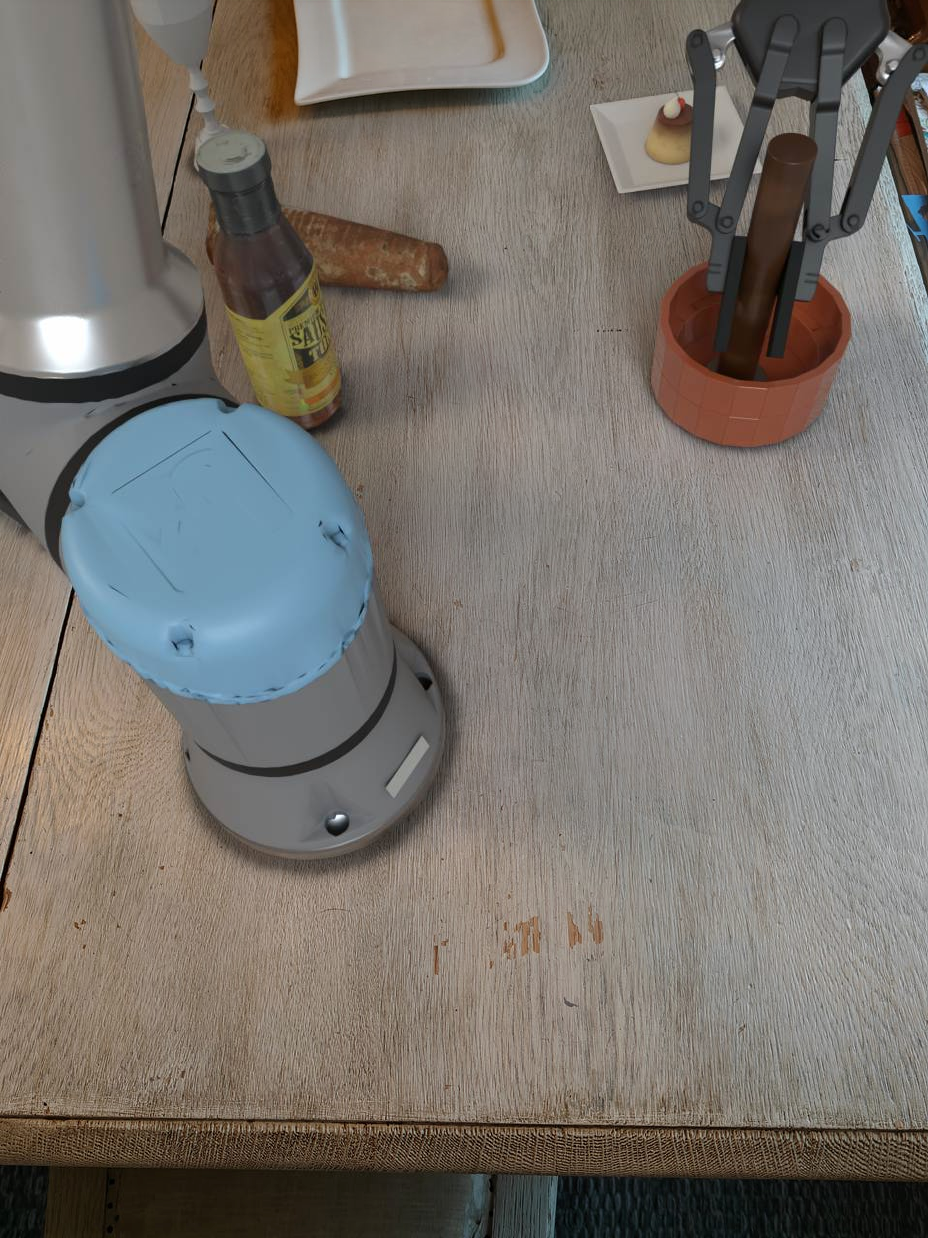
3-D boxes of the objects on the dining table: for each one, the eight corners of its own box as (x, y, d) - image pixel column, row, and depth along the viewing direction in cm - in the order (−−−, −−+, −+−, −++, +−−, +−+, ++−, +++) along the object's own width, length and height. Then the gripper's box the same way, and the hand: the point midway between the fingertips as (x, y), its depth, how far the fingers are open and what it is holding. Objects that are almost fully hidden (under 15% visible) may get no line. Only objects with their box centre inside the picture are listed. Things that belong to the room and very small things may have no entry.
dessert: (722, 96, 84) (732, 42, 80) (761, 183, 78) (774, 129, 74) (588, 116, 84) (591, 62, 80) (617, 205, 78) (621, 151, 74)
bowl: (623, 419, 67) (631, 352, 62) (686, 306, 72) (699, 234, 67) (792, 477, 64) (817, 412, 58) (847, 354, 69) (874, 283, 63)
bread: (239, 235, 80) (220, 175, 75) (458, 268, 76) (453, 207, 71) (209, 287, 77) (187, 228, 72) (435, 324, 73) (428, 265, 68)
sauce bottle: (333, 439, 68) (264, 197, 51) (250, 429, 69) (155, 189, 52) (356, 371, 71) (298, 121, 54) (277, 363, 72) (195, 114, 55)
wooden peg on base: (690, 397, 66) (738, 162, 50) (713, 354, 68) (766, 113, 52) (752, 418, 65) (821, 183, 49) (773, 373, 66) (846, 132, 51)
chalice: (201, 194, 83) (123, -31, 67) (169, 155, 86) (87, -69, 70) (275, 160, 84) (216, -67, 68) (241, 123, 87) (177, -103, 71)
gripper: (964, -61, 54) (867, 368, 61) (683, -73, 56) (621, 340, 63) (1009, -124, 47) (894, 370, 53) (685, -134, 49) (615, 339, 56)
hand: (746, 353), depth 58 cm, fingers closed on wooden peg on base, 3 cm apart
